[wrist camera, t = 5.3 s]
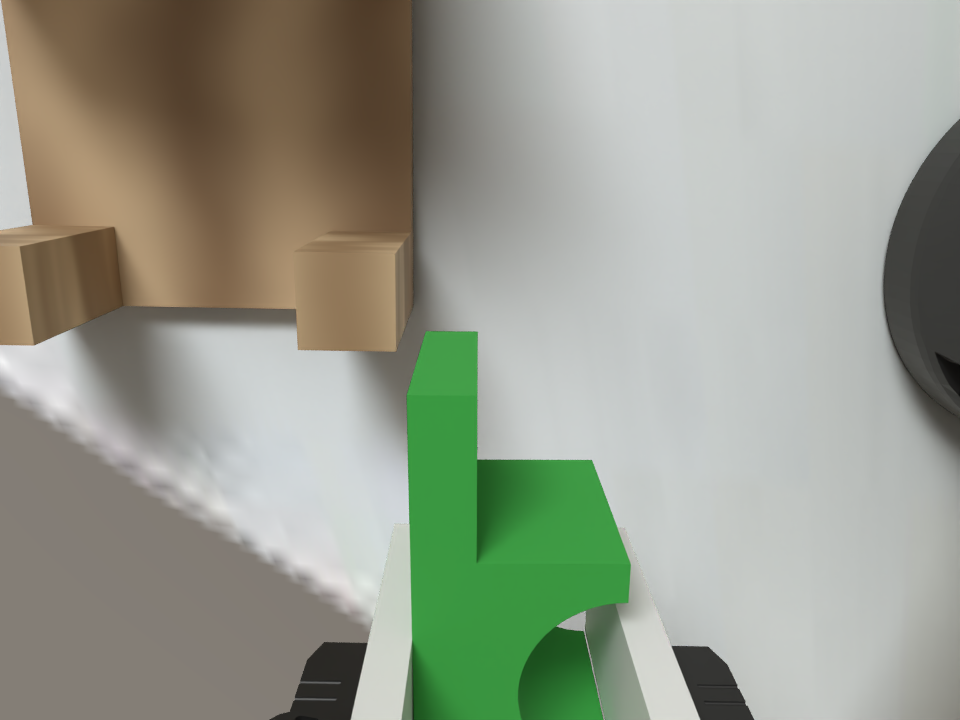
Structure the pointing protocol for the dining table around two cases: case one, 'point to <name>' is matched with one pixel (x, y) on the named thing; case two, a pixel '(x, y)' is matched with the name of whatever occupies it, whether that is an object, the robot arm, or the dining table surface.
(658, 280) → the dining table surface
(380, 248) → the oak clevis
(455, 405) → the pipe clamp
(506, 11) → the dining table surface
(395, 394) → the dining table surface
